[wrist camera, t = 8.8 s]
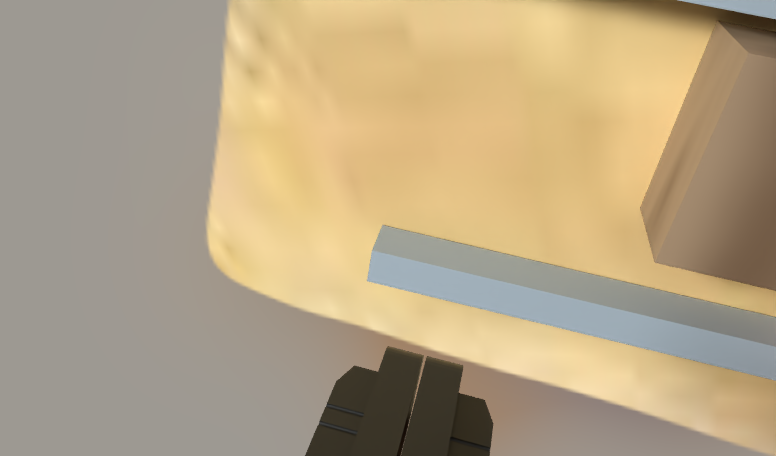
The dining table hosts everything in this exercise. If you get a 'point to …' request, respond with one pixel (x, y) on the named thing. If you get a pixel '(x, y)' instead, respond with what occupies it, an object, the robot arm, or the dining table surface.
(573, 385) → the dining table surface
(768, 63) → the block
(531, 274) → the guide track
